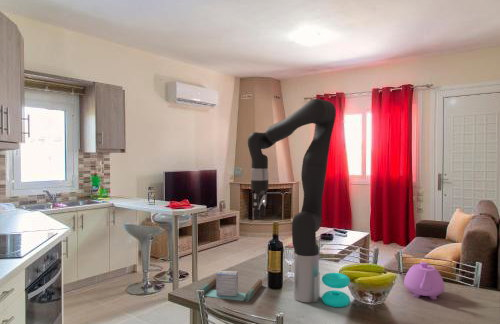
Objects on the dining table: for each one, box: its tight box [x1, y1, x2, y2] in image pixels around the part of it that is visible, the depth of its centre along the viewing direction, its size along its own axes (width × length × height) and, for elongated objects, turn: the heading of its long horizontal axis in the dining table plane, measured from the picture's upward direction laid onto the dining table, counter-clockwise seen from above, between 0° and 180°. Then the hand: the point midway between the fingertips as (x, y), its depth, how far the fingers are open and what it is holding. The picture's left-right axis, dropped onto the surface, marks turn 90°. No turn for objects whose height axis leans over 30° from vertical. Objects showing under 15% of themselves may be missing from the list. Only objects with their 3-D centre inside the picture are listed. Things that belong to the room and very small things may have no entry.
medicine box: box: [215, 270, 239, 297], centre depth 142 cm, size 8×4×9 cm, turn 82°
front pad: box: [203, 288, 247, 302], centre depth 142 cm, size 16×7×1 cm, turn 72°
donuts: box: [321, 272, 351, 308], centre depth 134 cm, size 10×10×10 cm
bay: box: [198, 275, 263, 303], centre depth 147 cm, size 20×18×2 cm
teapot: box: [403, 261, 445, 301], centre depth 141 cm, size 20×14×12 cm
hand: (259, 216), depth 156 cm, fingers open, 8 cm apart
